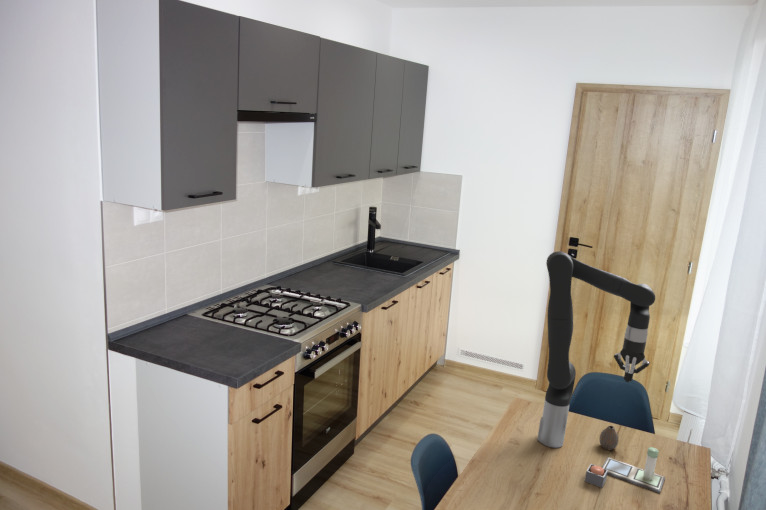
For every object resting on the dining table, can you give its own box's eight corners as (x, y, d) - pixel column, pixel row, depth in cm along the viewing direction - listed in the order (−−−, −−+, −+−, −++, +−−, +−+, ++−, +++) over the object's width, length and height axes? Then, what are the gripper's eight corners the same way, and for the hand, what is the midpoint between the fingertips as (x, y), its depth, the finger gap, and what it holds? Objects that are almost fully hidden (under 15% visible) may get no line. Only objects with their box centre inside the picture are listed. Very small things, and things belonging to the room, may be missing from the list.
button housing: (584, 481, 212) (586, 471, 211) (589, 473, 217) (590, 463, 216) (602, 487, 209) (604, 477, 208) (606, 480, 214) (608, 469, 213)
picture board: (600, 471, 218) (600, 469, 218) (607, 458, 228) (607, 456, 227) (659, 493, 208) (660, 490, 208) (664, 478, 217) (665, 476, 217)
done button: (588, 478, 212) (589, 469, 211) (591, 472, 215) (592, 464, 215) (600, 483, 209) (602, 474, 209) (603, 477, 213) (605, 468, 212)
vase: (618, 453, 232) (622, 432, 230) (599, 450, 233) (603, 429, 231) (615, 444, 239) (618, 424, 237) (597, 441, 240) (600, 421, 238)
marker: (641, 478, 215) (647, 450, 212) (643, 473, 217) (649, 446, 215) (652, 481, 213) (657, 453, 210) (654, 477, 216) (659, 449, 213)
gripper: (656, 339, 223) (648, 383, 227) (619, 330, 230) (611, 373, 234) (652, 345, 217) (644, 390, 221) (614, 336, 224) (607, 379, 228)
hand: (627, 381), depth 227 cm, fingers closed
